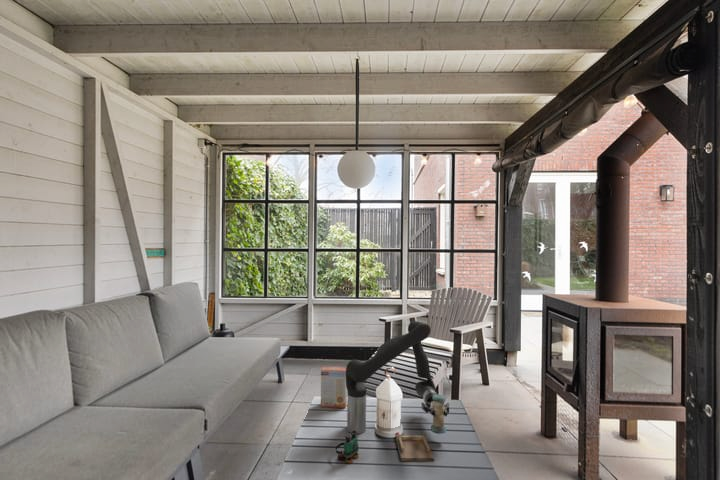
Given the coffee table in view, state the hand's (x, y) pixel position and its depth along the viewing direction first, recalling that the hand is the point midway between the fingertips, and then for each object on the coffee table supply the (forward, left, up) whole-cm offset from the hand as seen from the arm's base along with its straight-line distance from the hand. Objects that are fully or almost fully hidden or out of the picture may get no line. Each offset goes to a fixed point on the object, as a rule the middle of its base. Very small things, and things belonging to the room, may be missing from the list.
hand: (440, 414), depth 180 cm
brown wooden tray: (-13, -4, -13) cm, 19 cm away
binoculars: (-43, -11, -14) cm, 46 cm away
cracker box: (-50, +42, -14) cm, 66 cm away
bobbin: (0, +3, -8) cm, 9 cm away
